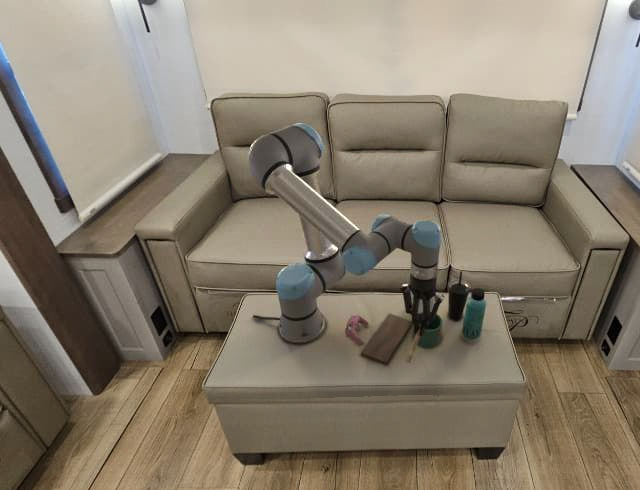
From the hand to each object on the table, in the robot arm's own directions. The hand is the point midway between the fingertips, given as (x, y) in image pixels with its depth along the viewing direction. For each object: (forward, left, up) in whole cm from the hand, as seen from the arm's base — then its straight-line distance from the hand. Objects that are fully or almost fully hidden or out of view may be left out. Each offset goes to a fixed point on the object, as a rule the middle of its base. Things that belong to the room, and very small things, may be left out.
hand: (419, 331), depth 132 cm
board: (-11, +1, -9) cm, 15 cm away
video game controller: (-22, -2, -10) cm, 24 cm away
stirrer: (0, -1, -1) cm, 1 cm away
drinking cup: (+5, +21, -10) cm, 24 cm away
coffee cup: (0, +7, -9) cm, 12 cm away
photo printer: (-7, +17, -10) cm, 21 cm away
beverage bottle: (+13, +14, -10) cm, 22 cm away
